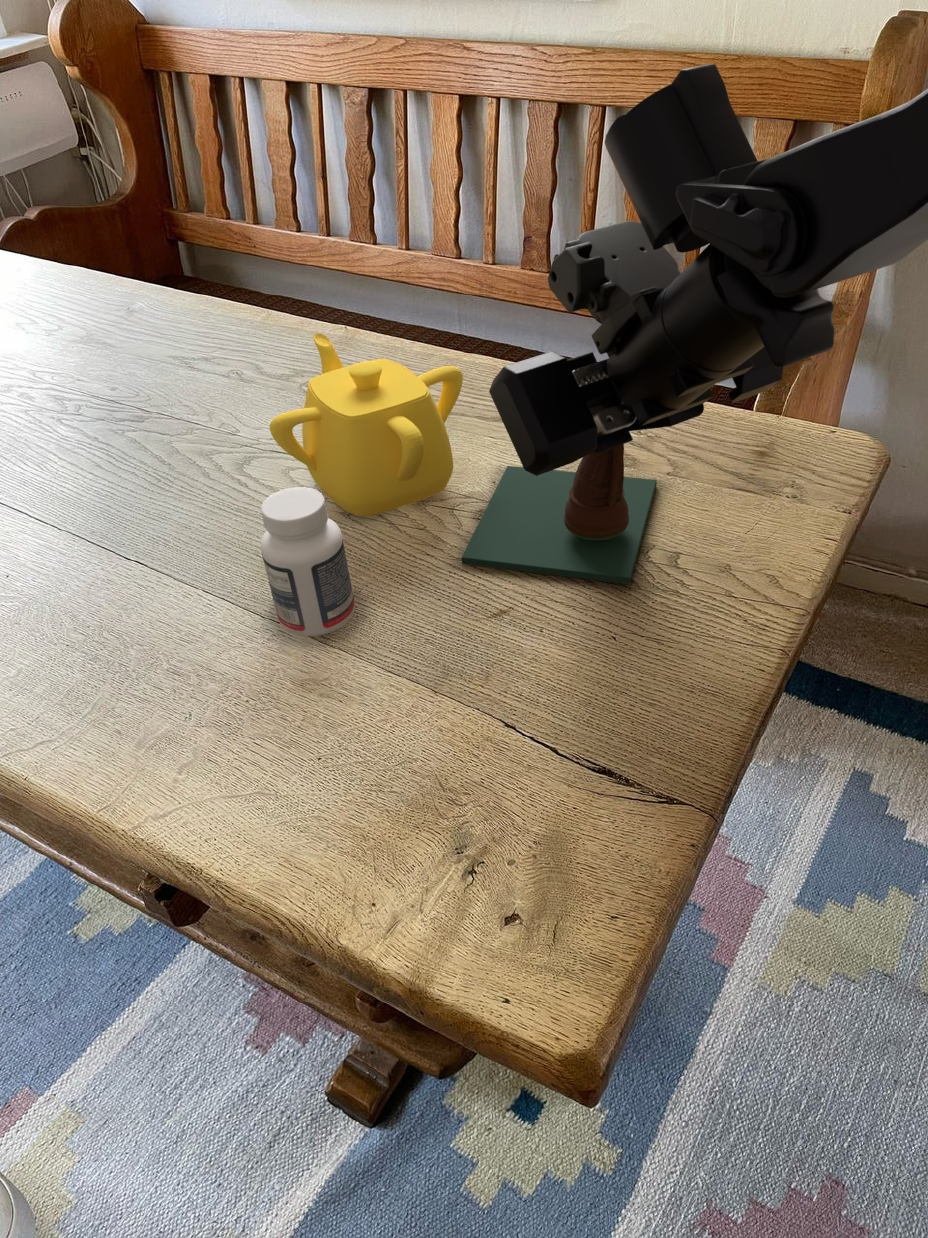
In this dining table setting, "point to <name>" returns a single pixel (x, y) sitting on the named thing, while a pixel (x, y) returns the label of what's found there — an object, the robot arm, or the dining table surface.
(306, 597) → the pill bottle
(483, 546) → the play mat
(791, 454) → the dining table surface
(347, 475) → the teapot
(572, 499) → the chess piece
